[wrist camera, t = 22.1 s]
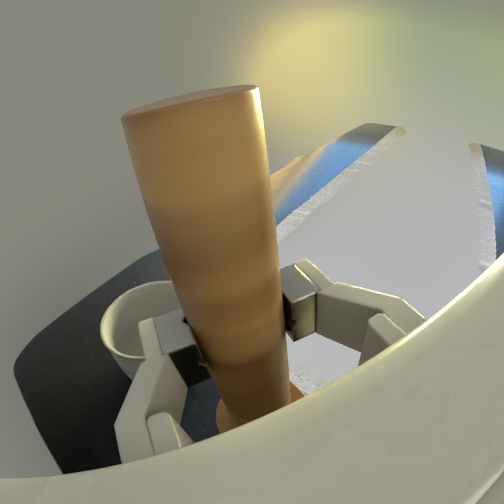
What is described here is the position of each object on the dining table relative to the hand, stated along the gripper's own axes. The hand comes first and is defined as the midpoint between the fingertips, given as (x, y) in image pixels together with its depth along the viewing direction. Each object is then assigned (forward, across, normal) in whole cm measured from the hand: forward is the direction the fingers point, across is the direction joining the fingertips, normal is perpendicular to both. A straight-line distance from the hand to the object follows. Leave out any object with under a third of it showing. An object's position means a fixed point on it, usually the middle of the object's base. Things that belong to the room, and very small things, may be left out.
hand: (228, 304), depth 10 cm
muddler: (-1, 0, -10) cm, 10 cm away
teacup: (+14, -5, -20) cm, 25 cm away
